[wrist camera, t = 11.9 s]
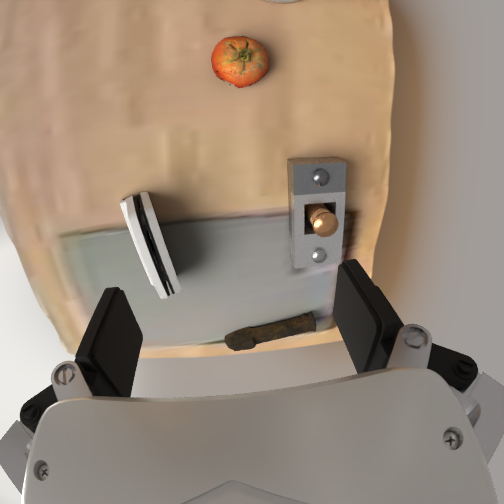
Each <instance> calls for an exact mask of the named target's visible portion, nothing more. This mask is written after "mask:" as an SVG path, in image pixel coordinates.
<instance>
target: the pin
mask: <svg viewBox="0 0 504 504" xmlns="http://www.w3.org/2000/svg"><path fill="white" fill-rule="evenodd" d="M304 213H305V215H306V216H307V218H308V219H309V221H310V223H311V224H312V226H313V229H314V231H315V233H316V234H317V235H318V236H320V237H329V236H331V235H333V234H334V233H335V232H336V231H337V229H338V225H339V222H338V219H337V217H336V216H335V215H334V214H333V213H331V212H330V211H329V210H328V209H327V208H326V207H325V205H324V204H323V203H315V204H305V205H304Z"/></svg>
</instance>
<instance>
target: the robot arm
mask: <svg viewBox="0 0 504 504" xmlns="http://www.w3.org/2000/svg"><path fill="white" fill-rule="evenodd" d="M265 1H269V2H274V3H292V2H296V1H300V0H265ZM333 316H334V319H335V322H336V324H337V326H338V328H339V331H340V333H341V335H342V338H343V340H344V342H345V345H346V346H347V349H348V351H349V354H350V356H351V359H352V361H353V363H354V366H355V368H356V371H357V373H358V374H356V375H352V376H347V377H343V378H338V379H333V380H328V381H323V382H318V383H313V384H307V385H302V386H297V387H290V388H283V389H276V390H269V391H261V392H253V393H244V394H234V395H222V396H207V397H186V398H131V397H130V396H131V390H132V386H133V381H134V376H135V371H136V367H137V362H138V358H139V354H140V349H141V345H142V341H143V335H142V332H141V330H140V327H139V325H138V323H137V321H136V319H135V316H134V314H133V312H132V310H131V307H130V305H129V303H128V300H127V298H126V296H125V293H124V291H123V290H120V288H119V287H112V288H106V289H105V291H104V293H103V295H102V297H101V299H100V301H99V303H98V305H97V307H96V309H95V311H94V314H93V316H92V318H91V320H90V322H89V325H88V327H87V329H86V331H85V334H84V336H83V338H82V341H81V343H80V346H79V348H78V351H77V353H76V356H75V357H76V359H75V361H74V362H73V361H65V362H62V363H60V364H59V365H57V366H56V368H55V369H54V370H53V372H52V375H51V382H52V385H50V386H49V387H47V388H46V389H44V390H43V391H41V392H40V393H39V394H37V395H35V396H34V397H33V398H31V399H30V400H28V401H27V402H26V403H25V404H24V405H23V406H22V408H21V411H20V422H19V421H18V420H16V421H15V423H14V424H13V425H12V426H11V428H10V429H9V430H8V431H7V433H6V434H5V435H4V436H3V437H2V439H1V440H0V465H1V466H2V468H3V469H4V471H5V472H6V474H7V475H8V477H9V478H10V479H11V481H12V482H13V484H14V485H15V486H16V488H17V489H18V490H19V492H20V493H21V494H22V504H498V501H497V496H496V492H495V488H494V485H493V482H492V478H491V475H490V472H489V469H488V465H487V464H488V463H489V461H490V459H491V457H492V456H493V454H494V452H495V450H496V448H497V446H498V444H499V442H500V440H501V438H502V436H503V434H504V386H503V385H501V384H500V383H498V382H497V381H496V380H494V379H492V378H491V377H490V376H489V375H487V374H486V373H484V372H482V374H480V373H479V372H478V368H477V364H476V363H475V361H474V360H473V359H472V358H471V357H469V356H466V355H464V354H461V353H459V352H456V351H453V350H450V349H447V348H444V347H442V346H439V345H436V344H433V343H432V337H431V334H430V333H429V331H428V330H427V329H425V328H424V327H422V326H420V325H417V324H408V325H405V326H404V324H403V323H402V321H401V320H400V318H399V317H398V315H397V313H396V312H395V310H394V309H393V308H392V306H391V304H390V303H389V302H388V300H387V299H386V297H385V296H384V294H383V293H382V291H381V290H380V288H379V287H378V286H375V285H374V283H373V282H372V280H371V279H370V278H369V276H368V275H367V273H366V272H365V271H364V269H363V268H362V266H361V265H360V264H359V262H358V261H357V260H356V259H351V260H344V261H343V262H342V264H340V265H339V266H338V274H337V284H336V292H335V300H334V308H333Z"/></svg>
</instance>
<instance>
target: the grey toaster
mask: <svg viewBox="0 0 504 504" xmlns="http://www.w3.org/2000/svg"><path fill="white" fill-rule="evenodd" d="M138 197H139V202H140V206H141V208H140V209H139V207H138V203H137V200H136V197H133V196H130V197H129V198H127V199H125V200H124V201H123V199H122V200H120V205H121V208H122V211H123V214H124V216H125V219H126V222H127V225H128V227H129V230H130V233H131V236H132V238H133V241H134V243H135V246H136V248H137V251H138V253H139V256H140V258H141V261H142V263H143V266H144V268H145V271H146V273H147V275H148V278H149V280H150V282H151V284H152V285H154V286H155V288H156V290H157V292H158V294H159V296H160V298H161V299H164V298H168V296H169V295H170V293H169V290H168V287H167V283H166V280H167V282H168V284H169V287H170V289H171V291H172V294H174V293H175V294H178V293H179V292H181V291H182V289H181V287H180V284H179V281H178V279H177V276H176V273H175V270H174V268H173V265H172V262H171V259H170V257H169V254H168V251H167V248H166V245H165V242H164V240H163V237H162V234H161V231H160V228H159V225H158V222H157V219H156V216H155V213H154V210H153V207H152V204H151V201H150V198H149V195H148V192H140V195H138ZM147 231H149V234H150V237H151V240H152V243H153V245H154V248H155V251H152V248H151V246H150V243H149V240H148V237H147V235H146V232H147ZM162 270H163V272H160V271H162Z"/></svg>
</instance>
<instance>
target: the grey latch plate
mask: <svg viewBox="0 0 504 504" xmlns="http://www.w3.org/2000/svg"><path fill="white" fill-rule="evenodd" d="M287 171H288V196H289V231H290V257H291V260H292V262H293V265H294V267H295V269H296V268H303V267H311V266H318V265H326V264H333V263H340V262H341V253H342V242H343V229H344V214H345V195H346V162H344V161H343V160H341V159H339V158H337V157H321V158H300V159H287ZM315 203H327V209H328V210H329V211H330V212H331V213H333V214H334V215H335V216H336V217H337V219H338V222H339V225H338V229H337V231H336V232H335V233H334V234H333V235H331V236H329V237H320V236H318V235H317V234H316V233H315V231H314V229H313V226H312V224H311V223H304V204H315Z"/></svg>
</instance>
